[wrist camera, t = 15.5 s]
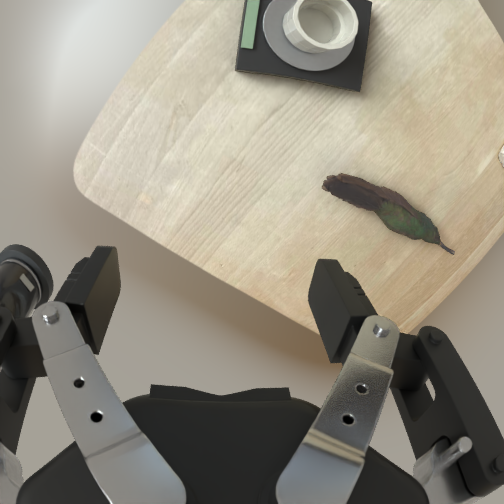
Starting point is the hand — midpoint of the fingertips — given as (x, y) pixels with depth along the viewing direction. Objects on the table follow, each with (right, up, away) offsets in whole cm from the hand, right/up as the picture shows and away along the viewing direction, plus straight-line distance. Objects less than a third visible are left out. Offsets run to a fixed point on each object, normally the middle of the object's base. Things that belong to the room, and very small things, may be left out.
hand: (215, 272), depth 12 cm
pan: (+7, +24, +14) cm, 29 cm away
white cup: (+7, +24, +13) cm, 28 cm away
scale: (+7, +26, +16) cm, 31 cm away
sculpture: (+22, +7, +29) cm, 37 cm away
